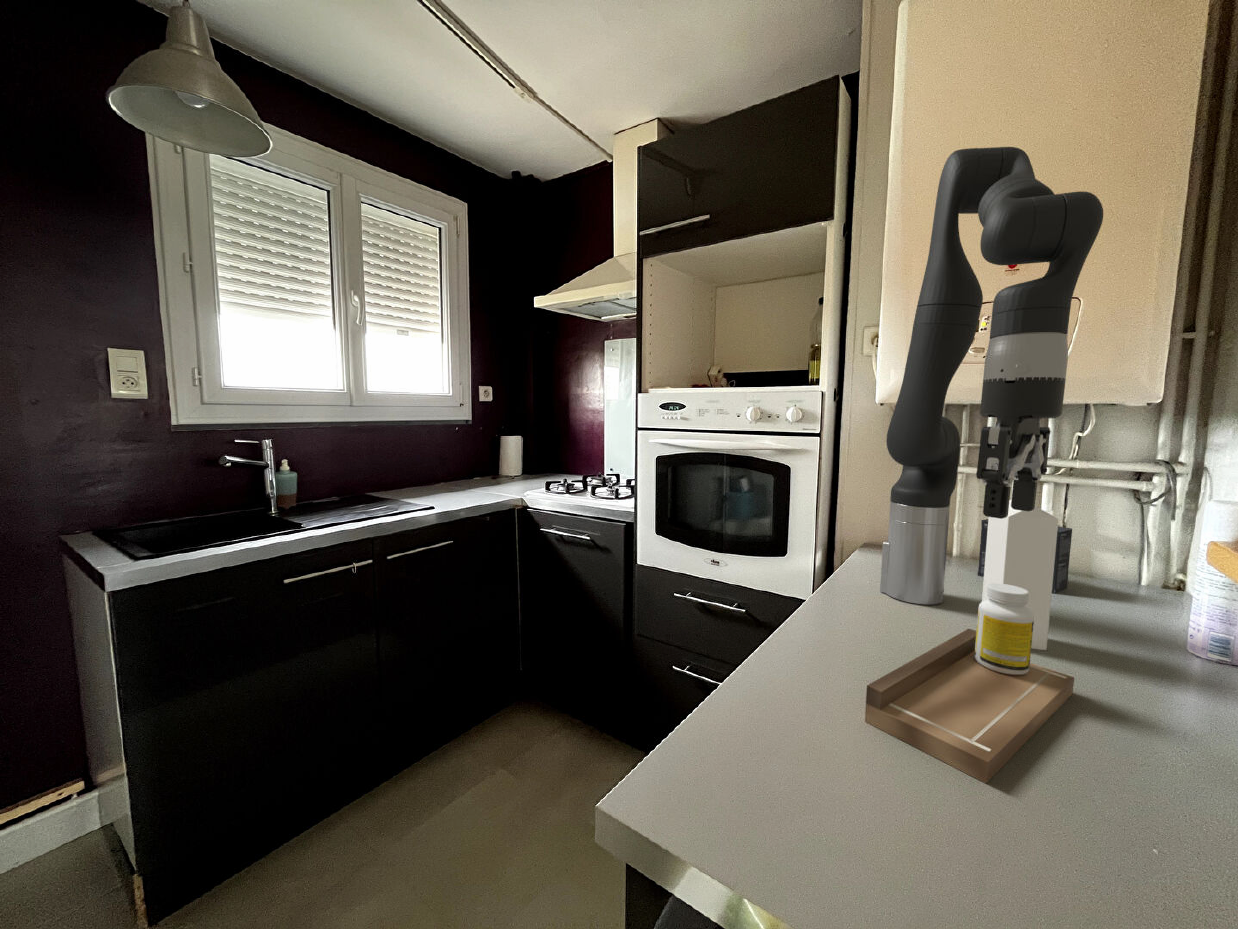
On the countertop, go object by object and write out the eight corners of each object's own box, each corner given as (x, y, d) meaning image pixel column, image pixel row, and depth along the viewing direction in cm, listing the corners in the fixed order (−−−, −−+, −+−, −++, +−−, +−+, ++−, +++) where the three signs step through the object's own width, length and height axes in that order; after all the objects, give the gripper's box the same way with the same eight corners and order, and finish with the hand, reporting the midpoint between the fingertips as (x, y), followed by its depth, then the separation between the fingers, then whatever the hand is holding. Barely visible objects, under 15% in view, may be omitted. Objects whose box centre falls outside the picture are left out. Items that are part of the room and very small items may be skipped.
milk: (997, 646, 72) (1009, 494, 69) (978, 628, 77) (989, 488, 75) (1047, 651, 70) (1061, 495, 68) (1024, 633, 76) (1036, 489, 74)
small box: (1068, 588, 97) (1074, 527, 96) (1055, 594, 94) (1061, 531, 93) (990, 570, 108) (994, 516, 107) (975, 575, 105) (980, 519, 104)
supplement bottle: (1039, 679, 58) (1047, 597, 57) (987, 674, 59) (994, 594, 58) (1013, 657, 64) (1019, 582, 63) (965, 653, 65) (971, 579, 64)
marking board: (864, 721, 53) (866, 685, 53) (966, 656, 68) (968, 628, 68) (986, 783, 44) (990, 741, 44) (1072, 693, 59) (1075, 661, 59)
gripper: (1007, 381, 65) (995, 503, 67) (959, 374, 57) (947, 513, 59) (1084, 378, 59) (1068, 513, 61) (1042, 371, 51) (1026, 526, 53)
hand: (1009, 513), depth 60 cm, fingers open, 8 cm apart
